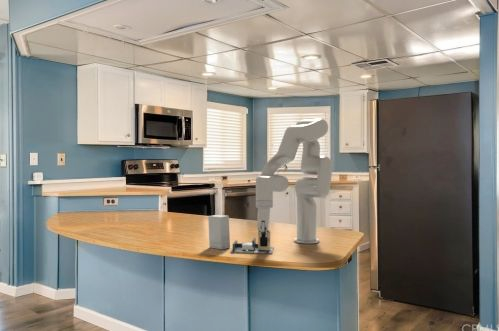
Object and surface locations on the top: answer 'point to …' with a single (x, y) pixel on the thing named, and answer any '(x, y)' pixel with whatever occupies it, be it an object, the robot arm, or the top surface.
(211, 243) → the skincare box
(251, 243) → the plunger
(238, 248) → the gauge base
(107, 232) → the top surface
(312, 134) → the robot arm
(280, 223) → the top surface
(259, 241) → the beech block
